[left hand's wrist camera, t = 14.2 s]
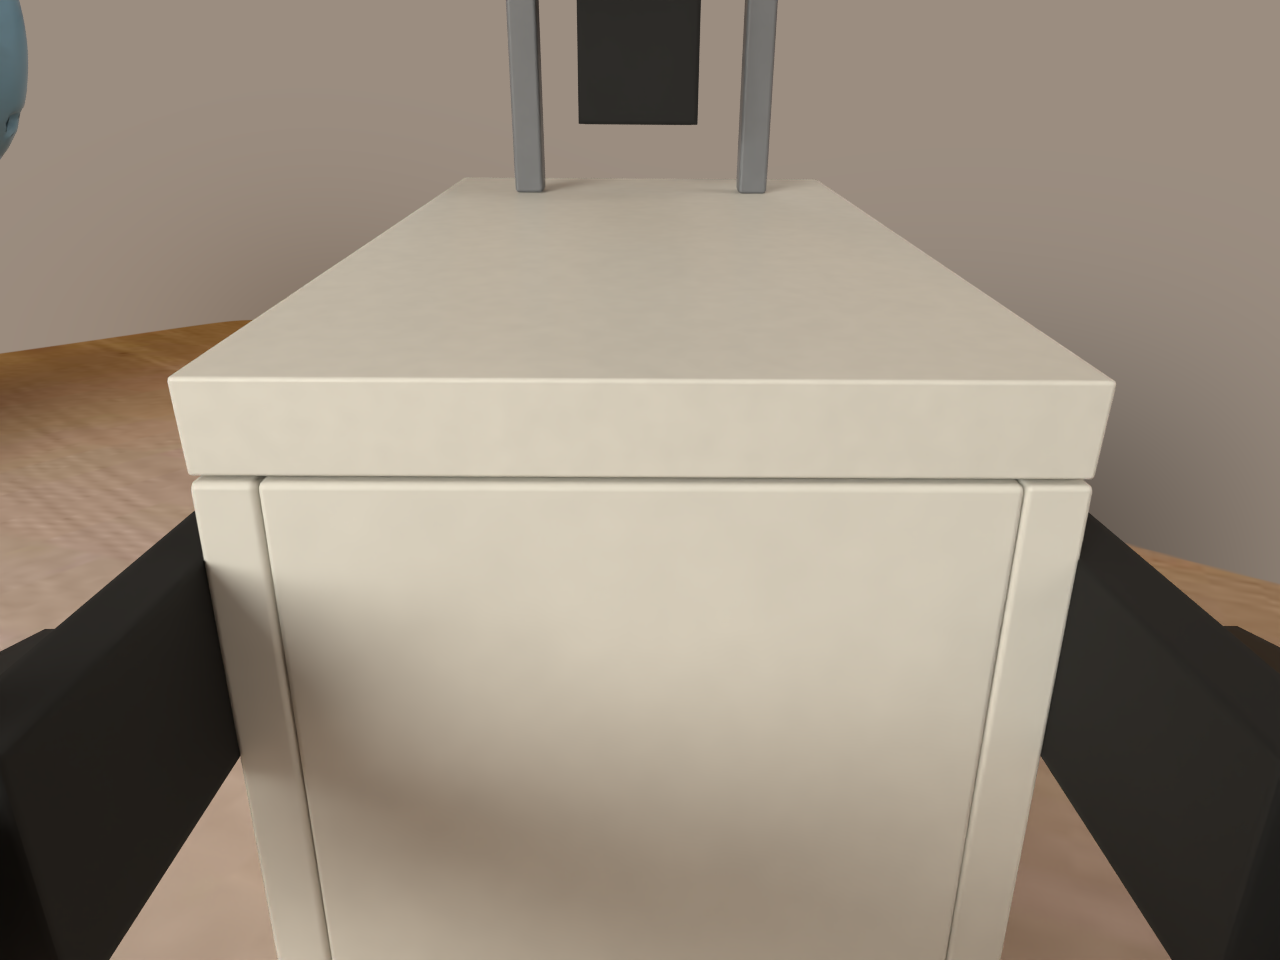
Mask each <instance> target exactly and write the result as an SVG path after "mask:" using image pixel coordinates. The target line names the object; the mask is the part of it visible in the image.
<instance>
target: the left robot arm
mask: <svg viewBox="0 0 1280 960" xmlns="http://www.w3.org/2000/svg"><path fill="white" fill-rule="evenodd" d="M239 757H240V751H239V745H238V740H237V735H236V729H235V724H234V719H233V714H232V708H231V703H230V697H229V692H228V687H227V681H226V676H225V670H224V665H223V660H222V654H221V649H220V643H219V638H218V632H217V627H216V622H215V616H214V611H213V605H212V600H211V595H210V589H209V584H208V578H207V573H206V567H205V562H204V557H203V551H202V546H201V540H200V535H199V530H198V524H197V519H196V513H195V511H194V512H193V513H191V514H190V515H189V516H188V517H187V518H186V519H184V520H183V521H182V522H181V523H180V524H178V525H177V526H176V527H175V528H174V529H173V530H171V531H170V532H169V533H168V534H167V535H165V536H164V537H163V538H162V539H161V540H159V541H158V542H157V543H156V544H155V545H154V546H152V547H151V548H150V549H149V550H148V551H146V552H145V553H144V554H143V555H142V556H141V557H139V558H138V559H137V560H136V561H135V562H133V563H132V564H131V565H130V566H129V567H128V568H126V569H125V570H124V571H123V572H122V573H120V574H119V575H118V576H117V577H116V578H115V579H113V580H112V581H111V582H110V583H109V584H107V585H106V586H105V587H104V588H103V589H102V590H100V591H99V592H98V593H97V594H96V595H94V596H93V597H92V598H91V599H90V600H88V601H87V602H86V603H85V604H84V605H83V606H81V607H80V608H79V609H78V610H77V611H75V612H74V613H73V614H72V615H71V616H70V617H68V618H67V619H66V620H65V621H64V622H62V623H61V624H60V625H59V626H58V627H57V628H55V629H44V630H42V631H40V632H38V633H36V634H34V635H32V636H30V637H28V638H26V639H24V640H22V641H20V642H18V643H16V644H14V645H13V646H11V647H9V648H7V649H5V650H3V651H1V652H0V960H109V959H110V958H111V956H112V955H113V953H114V951H115V950H116V948H117V947H118V945H119V944H120V942H121V941H122V939H123V937H124V936H125V934H126V933H127V931H128V930H129V928H130V927H131V925H132V923H133V922H134V920H135V919H136V917H137V916H138V914H139V913H140V911H141V909H142V908H143V906H144V905H145V903H146V902H147V900H148V899H149V897H150V895H151V894H152V892H153V891H154V889H155V888H156V886H157V885H158V883H159V881H160V880H161V878H162V877H163V875H164V874H165V872H166V871H167V869H168V867H169V866H170V864H171V863H172V861H173V860H174V858H175V857H176V855H177V853H178V852H179V850H180V849H181V847H182V846H183V844H184V843H185V841H186V839H187V838H188V836H189V835H190V833H191V832H192V830H193V829H194V827H195V825H196V824H197V822H198V821H199V819H200V818H201V816H202V815H203V813H204V811H205V810H206V808H207V807H208V805H209V804H210V802H211V801H212V799H213V797H214V796H215V794H216V793H217V791H218V790H219V788H220V787H221V785H222V783H223V782H224V780H225V779H226V777H227V776H228V774H229V773H230V771H231V769H232V768H233V766H234V765H235V763H236V762H237V760H238V759H239ZM1041 757H1042V759H1043V760H1044V762H1045V763H1046V765H1047V766H1048V768H1049V769H1050V771H1051V773H1052V774H1053V776H1054V777H1055V779H1056V780H1057V782H1058V783H1059V785H1060V787H1061V788H1062V790H1063V791H1064V793H1065V794H1066V796H1067V797H1068V799H1069V801H1070V802H1071V804H1072V805H1073V807H1074V808H1075V810H1076V811H1077V813H1078V815H1079V816H1080V818H1081V819H1082V821H1083V822H1084V824H1085V825H1086V827H1087V829H1088V830H1089V832H1090V833H1091V835H1092V836H1093V838H1094V839H1095V841H1096V843H1097V844H1098V846H1099V847H1100V849H1101V850H1102V852H1103V853H1104V855H1105V857H1106V858H1107V860H1108V861H1109V863H1110V864H1111V866H1112V867H1113V869H1114V871H1115V872H1116V874H1117V875H1118V877H1119V878H1120V880H1121V881H1122V883H1123V885H1124V886H1125V888H1126V889H1127V891H1128V892H1129V894H1130V895H1131V897H1132V899H1133V900H1134V902H1135V903H1136V905H1137V906H1138V908H1139V909H1140V911H1141V913H1142V914H1143V916H1144V917H1145V919H1146V920H1147V922H1148V923H1149V925H1150V927H1151V928H1152V930H1153V931H1154V933H1155V934H1156V936H1157V937H1158V939H1159V941H1160V942H1161V944H1162V945H1163V947H1164V948H1165V950H1166V951H1167V953H1168V955H1169V956H1170V958H1171V959H1172V960H1280V647H1278V646H1276V645H1274V644H1272V643H1270V642H1268V641H1266V640H1264V639H1262V638H1260V637H1258V636H1256V635H1254V634H1252V633H1250V632H1248V631H1246V630H1244V629H1242V628H1240V627H1238V626H1222V625H1221V624H1220V623H1219V622H1217V621H1216V620H1215V619H1214V618H1213V617H1212V616H1210V615H1209V614H1208V613H1207V612H1206V611H1204V610H1203V609H1202V608H1201V607H1200V606H1199V605H1197V604H1196V603H1195V602H1194V601H1193V600H1191V599H1190V598H1189V597H1188V596H1187V595H1186V594H1184V593H1183V592H1182V591H1181V590H1180V589H1178V588H1177V587H1176V586H1175V585H1174V584H1172V583H1171V582H1170V581H1169V580H1168V579H1167V578H1165V577H1164V576H1163V575H1162V574H1161V573H1159V572H1158V571H1157V570H1156V569H1155V568H1154V567H1152V566H1151V565H1150V564H1149V563H1148V562H1146V561H1145V560H1144V559H1143V558H1142V557H1141V556H1139V555H1138V554H1137V553H1136V552H1135V551H1133V550H1132V549H1131V548H1130V547H1129V546H1128V545H1126V544H1125V543H1124V542H1123V541H1122V540H1120V539H1119V538H1118V537H1117V536H1116V535H1114V534H1113V533H1112V532H1111V531H1110V530H1109V529H1107V528H1106V527H1105V526H1104V525H1103V524H1101V523H1100V522H1099V521H1098V520H1097V519H1095V518H1094V517H1093V516H1092V515H1091V514H1090V513H1088V517H1087V522H1086V527H1085V532H1084V537H1083V542H1082V547H1081V552H1080V557H1079V560H1078V563H1077V569H1076V574H1075V579H1074V584H1073V589H1072V595H1071V600H1070V605H1069V610H1068V615H1067V621H1066V626H1065V631H1064V636H1063V641H1062V647H1061V652H1060V657H1059V662H1058V667H1057V673H1056V678H1055V683H1054V688H1053V693H1052V699H1051V704H1050V709H1049V714H1048V719H1047V725H1046V730H1045V735H1044V740H1043V745H1042V751H1041Z"/></svg>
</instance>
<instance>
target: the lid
mask: <svg viewBox="0 0 1280 960" xmlns="http://www.w3.org/2000/svg"><path fill="white" fill-rule="evenodd" d="M777 3H778V0H745V15H744V36H743V57H742V78H741V99H740V120H739V141H738V162H737V179H600V178H599V179H598V178H545V160H544V134H543V107H542V81H541V55H540V28H539V1H538V0H506V9H507V29H508V49H509V68H510V87H511V107H512V126H513V146H514V166H515V178H464V179H463V180H461V181H460V182H458V183H457V184H455V185H454V186H452V187H451V188H449V189H448V190H446V191H445V192H443V193H442V194H440V195H439V196H437V197H436V198H434V199H433V200H431V201H430V202H428V203H427V204H425V205H424V206H422V207H421V208H419V209H418V210H417V211H415V212H413V213H412V214H410V215H409V216H408V217H406V218H405V219H403V220H402V221H400V222H399V223H397V224H396V225H394V226H393V227H391V228H390V229H388V230H387V231H385V232H384V233H382V234H381V235H379V236H378V237H376V238H375V239H373V240H372V241H370V242H369V243H367V244H366V245H364V246H363V247H361V248H360V249H358V250H357V251H355V252H354V253H352V254H351V255H349V256H348V257H347V258H345V259H344V260H342V261H340V262H339V263H338V264H336V265H335V266H333V267H332V268H330V269H329V270H327V271H326V272H324V273H323V274H321V275H320V276H318V277H317V278H315V279H314V280H312V281H311V282H309V283H308V284H306V285H305V286H303V287H302V288H300V289H299V290H297V291H296V292H294V293H293V294H291V295H290V296H288V297H287V298H285V299H284V300H283V301H281V302H279V303H278V304H276V305H275V306H274V307H272V308H271V309H269V310H268V311H266V312H265V313H263V314H262V315H260V316H259V317H257V318H256V319H254V320H253V321H251V322H250V323H248V324H247V325H245V326H244V327H242V328H241V329H239V330H238V331H236V332H235V333H233V334H232V335H230V336H229V337H227V338H226V339H224V340H223V341H221V342H220V343H218V344H217V345H215V346H214V347H212V348H211V349H209V350H208V351H207V352H205V353H204V354H202V355H201V356H199V357H198V358H196V359H195V360H193V361H192V362H190V363H189V364H187V365H186V366H184V367H183V368H181V369H180V370H178V371H177V372H175V373H174V374H172V375H171V376H169V377H168V386H169V390H170V395H171V399H172V404H173V408H174V412H175V417H176V421H177V426H178V430H179V435H180V439H181V443H182V448H183V452H184V457H185V461H186V465H187V470H188V473H189V474H190V475H241V476H474V477H705V478H938V479H1092V478H1093V477H1094V476H1095V472H1096V468H1097V463H1098V459H1099V455H1100V451H1101V446H1102V442H1103V438H1104V434H1105V430H1106V425H1107V421H1108V417H1109V413H1110V409H1111V404H1112V400H1113V396H1114V392H1115V388H1116V382H1115V381H1114V380H1112V379H1111V378H1109V377H1108V376H1106V375H1105V374H1103V373H1102V372H1100V371H1099V370H1097V369H1096V368H1095V367H1093V366H1092V365H1090V364H1089V363H1087V362H1086V361H1084V360H1083V359H1081V358H1080V357H1078V356H1077V355H1075V354H1074V353H1072V352H1071V351H1069V350H1068V349H1066V348H1065V347H1063V346H1062V345H1061V344H1059V343H1058V342H1056V341H1055V340H1053V339H1052V338H1050V337H1049V336H1047V335H1046V334H1044V333H1043V332H1041V331H1040V330H1038V329H1037V328H1035V327H1034V326H1032V325H1031V324H1029V323H1028V322H1026V321H1025V320H1024V319H1022V318H1020V317H1019V316H1018V315H1016V314H1015V313H1013V312H1012V311H1010V310H1009V309H1007V308H1006V307H1004V306H1003V305H1001V304H1000V303H998V302H997V301H995V300H994V299H992V298H991V297H989V296H988V295H986V294H985V293H984V292H982V291H981V290H979V289H978V288H976V287H975V286H973V285H972V284H970V283H969V282H967V281H966V280H964V279H963V278H961V277H960V276H958V275H957V274H955V273H954V272H952V271H951V270H949V269H948V268H947V267H945V266H943V265H942V264H941V263H939V262H938V261H936V260H935V259H933V258H932V257H930V256H929V255H927V254H926V253H924V252H923V251H921V250H920V249H918V248H917V247H915V246H914V245H912V244H911V243H910V242H908V241H906V240H905V239H904V238H902V237H901V236H899V235H898V234H896V233H895V232H893V231H892V230H890V229H889V228H887V227H886V226H884V225H883V224H881V223H880V222H878V221H877V220H875V219H874V218H873V217H871V216H870V215H868V214H867V213H865V212H864V211H862V210H861V209H859V208H858V207H856V206H855V205H853V204H852V203H850V202H849V201H847V200H846V199H844V198H843V197H841V196H840V195H838V194H837V193H835V192H834V191H833V190H831V189H829V188H828V187H827V186H825V185H824V184H822V183H821V182H819V181H818V180H801V179H800V180H798V179H767V167H768V151H769V134H770V118H771V102H772V85H773V69H774V52H775V36H776V20H777Z"/></svg>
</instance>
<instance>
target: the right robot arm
mask: <svg viewBox="0 0 1280 960" xmlns="http://www.w3.org/2000/svg"><path fill="white" fill-rule="evenodd" d="M700 10H701V0H577V41H578V103H579V124H641V125H643V124H644V125H697V116H698V82H699V46H700ZM27 79H28V50H27V39H26V31H25V25H24V20H23V15H22V10H21V6H20V2H19V0H0V159H1V157H2V156H3V155H4V153H5V152H6V151H7V149H8V148H9V146H10V144H11V142H12V140H13V138H14V136H15V134H16V132H17V128H18V122H19V117H20V112H21V110H22V108H23V107H24V104H25V98H26V91H27Z"/></svg>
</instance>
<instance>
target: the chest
mask: <svg viewBox="0 0 1280 960" xmlns="http://www.w3.org/2000/svg"><path fill="white" fill-rule="evenodd" d="M191 492H192V497H193V502H194V508H195V513H196V519H197V524H198V530H199V535H200V540H201V546H202V551H203V557H204V562H205V567H206V573H207V578H208V584H209V589H210V595H211V600H212V605H213V611H214V616H215V622H216V627H217V632H218V638H219V643H220V649H221V654H222V660H223V665H224V670H225V676H226V681H227V687H228V692H229V697H230V703H231V708H232V714H233V719H234V724H235V729H236V735H237V740H238V745H239V751H240V757H241V762H242V768H243V773H244V779H245V784H246V789H247V795H248V800H249V806H250V811H251V817H252V822H253V827H254V833H255V838H256V844H257V849H258V854H259V860H260V865H261V871H262V876H263V882H264V887H265V892H266V898H267V903H268V909H269V914H270V919H271V925H272V930H273V936H274V941H275V947H276V952H277V957H278V960H1000V959H1001V954H1002V949H1003V944H1004V939H1005V934H1006V929H1007V923H1008V918H1009V913H1010V908H1011V903H1012V898H1013V893H1014V888H1015V883H1016V878H1017V873H1018V868H1019V862H1020V857H1021V852H1022V847H1023V842H1024V837H1025V832H1026V827H1027V822H1028V817H1029V812H1030V806H1031V801H1032V796H1033V791H1034V786H1035V781H1036V776H1037V771H1038V766H1039V761H1040V756H1041V751H1042V745H1043V740H1044V735H1045V730H1046V725H1047V719H1048V714H1049V709H1050V704H1051V699H1052V693H1053V688H1054V683H1055V678H1056V673H1057V667H1058V662H1059V657H1060V652H1061V647H1062V641H1063V636H1064V631H1065V626H1066V621H1067V615H1068V610H1069V605H1070V600H1071V595H1072V589H1073V584H1074V579H1075V574H1076V569H1077V563H1078V560H1079V557H1080V552H1081V547H1082V542H1083V537H1084V532H1085V527H1086V522H1087V517H1088V511H1089V506H1090V501H1091V496H1092V488H1091V486H1090V485H1089V484H1088V483H1086V482H1085V481H1084V480H1082V479H938V478H705V477H474V476H241V475H201V476H200V477H199V478H198V479H196V480H195V481H194V482H193V483H192V487H191Z"/></svg>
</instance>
